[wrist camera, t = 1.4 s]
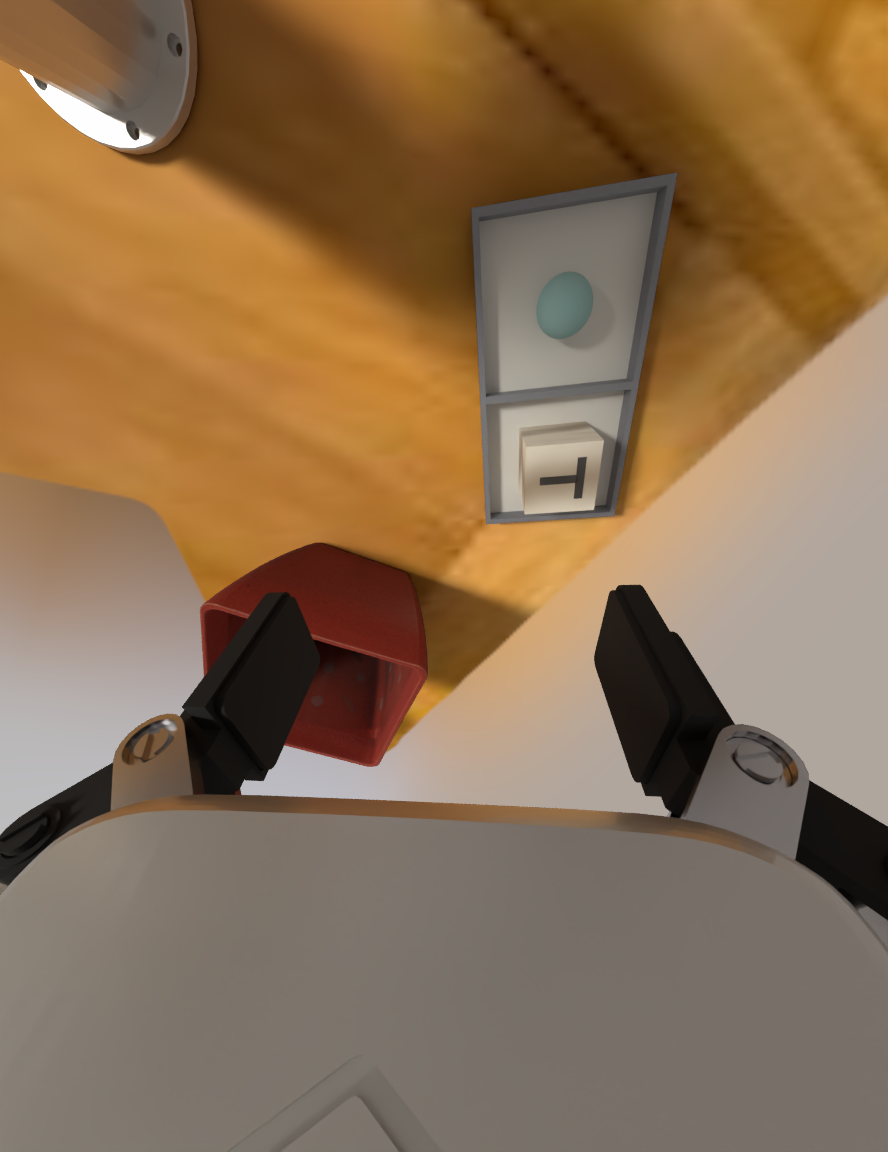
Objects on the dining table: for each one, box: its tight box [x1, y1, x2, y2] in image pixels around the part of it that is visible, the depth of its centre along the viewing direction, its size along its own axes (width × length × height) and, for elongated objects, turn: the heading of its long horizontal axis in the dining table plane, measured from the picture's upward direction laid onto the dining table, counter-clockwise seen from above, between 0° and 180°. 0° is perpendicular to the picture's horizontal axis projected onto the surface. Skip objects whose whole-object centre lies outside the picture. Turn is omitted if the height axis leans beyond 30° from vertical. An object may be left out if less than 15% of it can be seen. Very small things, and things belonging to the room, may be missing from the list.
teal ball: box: [536, 272, 593, 339], centre depth 27 cm, size 4×4×4 cm
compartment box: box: [471, 172, 678, 524], centre depth 31 cm, size 24×13×2 cm, turn 6°
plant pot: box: [200, 543, 428, 767], centre depth 41 cm, size 19×19×17 cm
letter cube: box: [518, 421, 604, 514], centre depth 33 cm, size 6×6×6 cm
